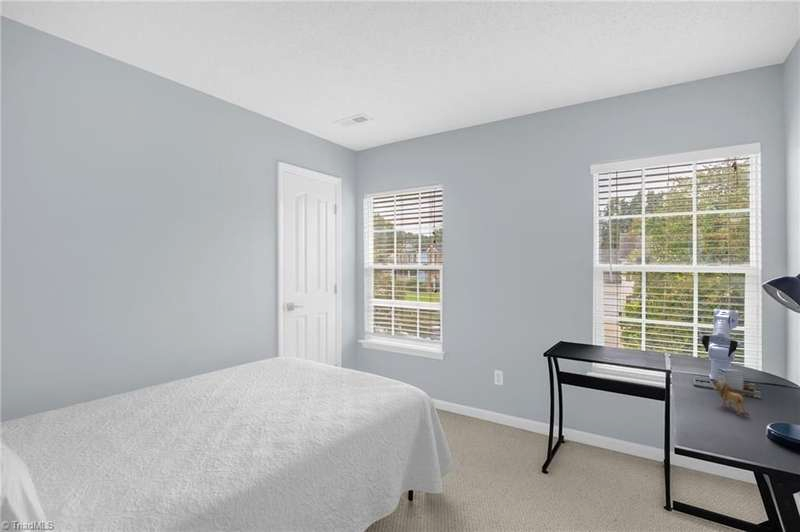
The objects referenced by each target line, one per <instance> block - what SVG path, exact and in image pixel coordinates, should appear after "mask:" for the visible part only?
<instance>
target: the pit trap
mask: <svg viewBox="0 0 800 532" xmlns="http://www.w3.org/2000/svg"><path fill="white" fill-rule="evenodd" d="M698 381H700V383H703V382H707V383H710V385H711V386H705V385H699V384H696V383H698ZM693 383H694V384H693ZM692 384H693V387H696V386H700V387H699V388H702V387H706V388H705V389H707V388H713V386H714V384H713V381H711V380H705V379H698V378H693V379H692ZM713 389H714V388H713ZM713 389H712V390H713Z"/></svg>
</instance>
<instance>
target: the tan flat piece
mask: <svg viewBox="0 0 800 532" xmlns="http://www.w3.org/2000/svg"><path fill="white" fill-rule="evenodd" d="M713 382H714V383H718V380H715V379H714V381H713ZM743 387H744V388H749V389H754V390H753V391H747V390H744V389H743V390H737V389H732V390H733V392H734V393H738V394H744V395H749V396H748V397H750V396H753V397H752V398H756V397H758V398H757V399H761V391H757V390H756V383H749V382H748V384H746V383H743ZM749 389H748V390H749ZM744 395H743V396H744Z"/></svg>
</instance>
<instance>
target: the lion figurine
mask: <svg viewBox="0 0 800 532" xmlns="http://www.w3.org/2000/svg"><path fill="white" fill-rule="evenodd" d="M713 388H714V391H715V392H717V393H718V394H719V396H720V398H721V399H722V402H723V404H721V407H722V406H724V407H723V408H726V407H729V406H730V407H729V408H732V407H733V405H734V407H735V409H736V413H735V414H736V415H741V413H742V414H745V416H747V417H750V414H749V413H747V411H746V410H745V407H744V405H745V399H744V397H743V395H739V394H735V393H734V392H733V390H732V389H731V387H729V386H728V385H727V384H726V383H724V382H718V384H714V385H713ZM727 400H728V404H727ZM739 405H740V407H739Z"/></svg>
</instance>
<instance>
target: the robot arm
mask: <svg viewBox="0 0 800 532" xmlns="http://www.w3.org/2000/svg"><path fill="white" fill-rule="evenodd" d="M738 323H739V311H738V310H728V309H718V308H715V309H714V311H713V323H712V324H713V329H712V333H710V334H708V333H706V334H705V333H700V335H699V340H701V345H702V346H704V350H705V352H706V353H707V357H708V358H709V359H710V361H711V364H710V365H711V366H710V367H711V368H710V372H711V373H708V375H709V379H711V380H713V379H715V380H718V369H732V368H731V366H732V365H731V363H734V361H735V359H736V357H735V355H736V351H737V348H738V349H740V348H741V345H742V342H741V341H738V340H735V339H733V338H731V337H730V336H731V332H732V331H733V329H736V328H737V326H738V325H739V324H738Z"/></svg>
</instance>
